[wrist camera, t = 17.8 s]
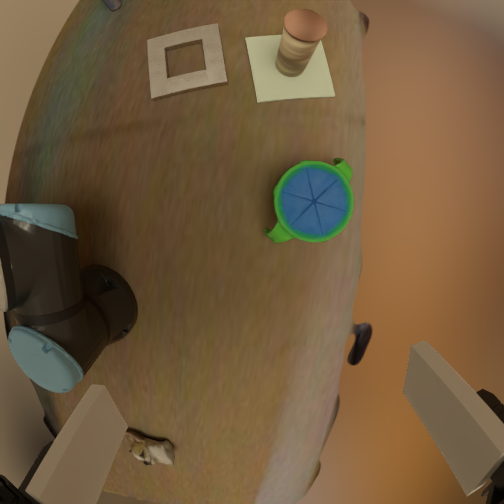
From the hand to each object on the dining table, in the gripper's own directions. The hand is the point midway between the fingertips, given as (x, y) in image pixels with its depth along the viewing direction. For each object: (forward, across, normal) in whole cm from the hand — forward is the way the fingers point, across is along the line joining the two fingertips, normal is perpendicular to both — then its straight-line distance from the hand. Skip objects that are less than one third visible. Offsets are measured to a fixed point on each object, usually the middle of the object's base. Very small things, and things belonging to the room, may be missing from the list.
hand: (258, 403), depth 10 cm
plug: (+36, +11, +28) cm, 47 cm away
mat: (+37, +11, +28) cm, 47 cm away
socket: (+37, -6, +32) cm, 49 cm away
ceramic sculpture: (+37, -34, -49) cm, 70 cm away
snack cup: (+37, +9, +5) cm, 38 cm away
